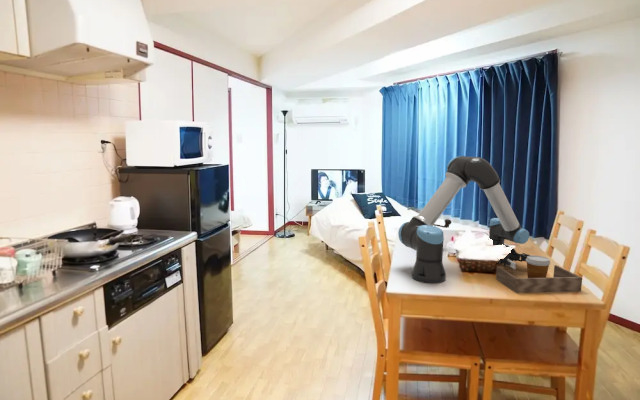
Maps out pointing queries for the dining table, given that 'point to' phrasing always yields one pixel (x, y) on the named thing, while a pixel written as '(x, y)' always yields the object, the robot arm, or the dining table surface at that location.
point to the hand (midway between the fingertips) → (529, 266)
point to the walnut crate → (541, 282)
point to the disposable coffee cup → (537, 266)
